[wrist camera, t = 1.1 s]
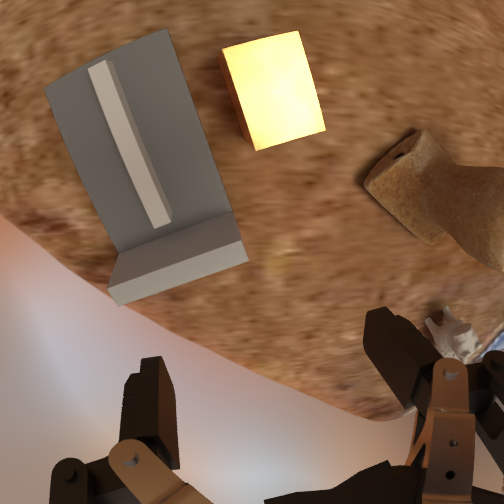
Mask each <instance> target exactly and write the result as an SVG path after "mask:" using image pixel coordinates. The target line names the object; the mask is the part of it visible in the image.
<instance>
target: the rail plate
mask: <svg viewBox="0 0 504 504" xmlns="http://www.w3.org/2000/svg"><path fill="white" fill-rule="evenodd" d="M44 90H45V93H46V96H47V99H48V101H49V104H50V107H51V109H52V112H53V115H54V117H55V120H56V122H57V125H58V127H59V130H60V132H61V135H62V137H63V140H64V142H65V144H66V147H67V149H68V151H69V154H70V156H71V158H72V161H73V163H74V165H75V167H76V169H77V172H78V174H79V176H80V178H81V180H82V182H83V185H84V187H85V189H86V191H87V193H88V195H89V197H90V199H91V201H92V203H93V205H94V207H95V209H96V211H97V213H98V215H99V217H100V219H101V221H102V223H103V225H104V227H105V229H106V231H107V233H108V235H109V237H110V238H111V240H112V242H113V244H114V246H115V248H116V249H117V251H118V253H119V255H118V258H117V261H116V263H115V266H114V269H113V272H112V275H111V278H110V280H109V283H108V286H107V290H108V292H109V293H110V295H111V296H112V298H113V300H114V301H115V303H116V304H117V305H118V306H121V305H124V304H126V303H129V302H132V301H135V300H138V299H141V298H144V297H147V296H150V295H153V294H155V293H158V292H161V291H164V290H167V289H170V288H173V287H176V286H178V285H181V284H184V283H187V282H190V281H193V280H196V279H199V278H201V277H204V276H207V275H210V274H213V273H216V272H219V271H221V270H224V269H227V268H230V267H233V266H236V265H239V264H241V263H244V262H247V261H249V260H248V257H247V254H246V250H245V247H244V244H243V241H242V238H241V234H240V231H239V228H238V225H237V222H236V219H235V217H234V214H233V211H232V208H231V206H230V203H229V200H228V197H227V194H226V192H225V189H224V186H223V183H222V181H221V178H220V175H219V172H218V170H217V167H216V164H215V161H214V158H213V156H212V153H211V150H210V147H209V145H208V142H207V139H206V136H205V133H204V131H203V128H202V125H201V122H200V119H199V117H198V114H197V111H196V108H195V105H194V103H193V100H192V97H191V94H190V91H189V89H188V86H187V83H186V80H185V77H184V75H183V72H182V69H181V66H180V63H179V61H178V58H177V55H176V52H175V49H174V46H173V44H172V41H171V38H170V35H169V32H168V30H167V28H165V29H163V30H160V31H157V32H155V33H152V34H150V35H147V36H145V37H142V38H140V39H137V40H135V41H133V42H130V43H128V44H126V45H123V46H121V47H119V48H117V49H115V50H113V51H110V52H108V53H106V54H104V55H102V56H100V57H98V58H96V59H94V60H92V61H90V62H88V63H86V64H85V65H83V66H81V67H79V68H77V69H75V70H73V71H72V72H70V73H68V74H66V75H65V76H63V77H61V78H60V79H58V80H56V81H55V82H53V83H51V84H50V85H48V86H46V87H45V88H44Z"/></svg>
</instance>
